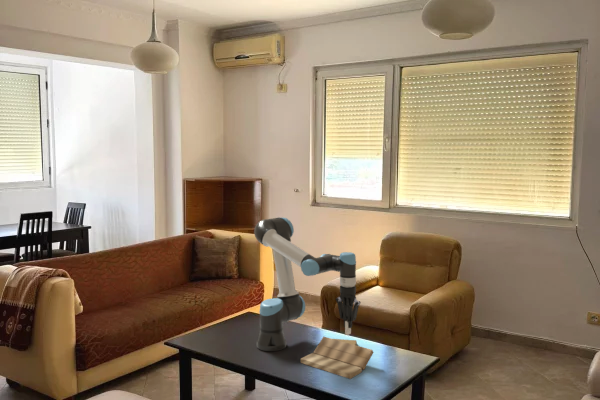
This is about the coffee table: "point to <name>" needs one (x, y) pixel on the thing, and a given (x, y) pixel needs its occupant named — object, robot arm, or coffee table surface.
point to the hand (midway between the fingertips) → (348, 334)
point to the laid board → (331, 365)
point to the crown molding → (348, 341)
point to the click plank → (344, 352)
